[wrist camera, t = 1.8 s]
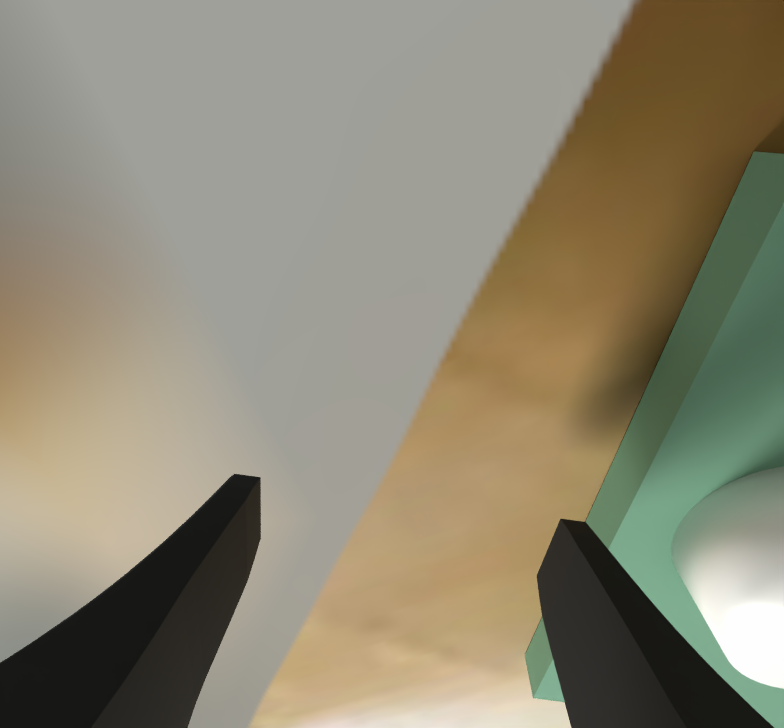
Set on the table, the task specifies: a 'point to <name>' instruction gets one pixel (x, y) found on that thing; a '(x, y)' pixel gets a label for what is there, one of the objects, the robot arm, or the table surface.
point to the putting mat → (701, 423)
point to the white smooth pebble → (739, 570)
